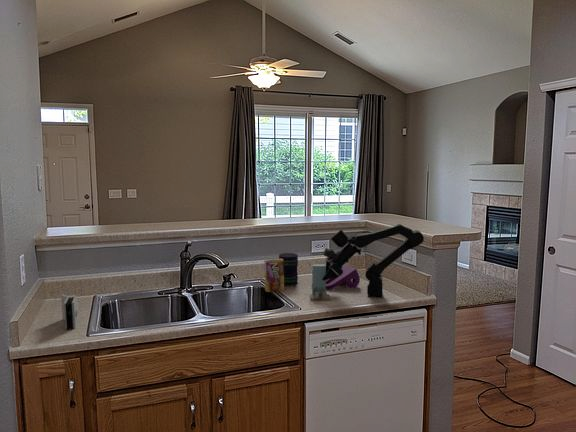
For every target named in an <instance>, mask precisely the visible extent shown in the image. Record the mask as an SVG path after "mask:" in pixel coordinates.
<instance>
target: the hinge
mask: <svg viewBox="0 0 576 432" xmlns="http://www.w3.org/2000/svg"><path fill="white" fill-rule="evenodd" d="M60 297H61V299H60V300H61V313H62V317H61V318H62V321H64V326H65V330H66V331H69V330H74V329H76V328H77V325H78V323H79V303H78V297H77V295H75V294H71V295H67V294H61V295H60Z"/></svg>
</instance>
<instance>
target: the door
mask: <svg viewBox="0 0 576 432" xmlns="http://www.w3.org/2000/svg"><path fill="white" fill-rule="evenodd" d="M311 267H312V268H311V277H312V281H311V290H312V291H311V292H312V293H311V294H314V288H318V292H319V294H321V288H325V291H327V289H326V280H325V281H323V280H322V278H323V277H324V276H325V274H326V263H325V264H319V263H318V264H312V266H311Z"/></svg>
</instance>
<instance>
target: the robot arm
mask: <svg viewBox="0 0 576 432" xmlns="http://www.w3.org/2000/svg"><path fill="white" fill-rule="evenodd" d="M396 235H401V236H403V237H404V238H405V239H404V241H403V242H402V243H401V244H400V245H398V246H397V247H396V248H394V249H393V250H392V251H390V252H389V253H388V254H387V255H386V256H384V258H382V259H381V260H380V261H377V262H376V261H375V260H373V261H372V262H371V263H370V264H368V265H367V267H366V268H365V278H366V280H368V284H367V289H366V290H367V293H366V294H367V297H370V298H381V299H382V298H383V294H384V290H383V289H384V286H383V285H384V282H383V275H382V273H383V272H384V270H385V269H386V268H388V267H389V266H390V265H392V263H394V262H395V261H397V260H398V259H399V258H400V257H402V256H403V255H405V253H407V252H408V251H410V250H412V249H413V248H416V247H419V246H420V245H422V244H423V242H424V238H425V237H424V235H423V233H422V232H421V231H419V230H416V229H414V230H413V229H411V228H409V227H407V226H404V225H402V224H401V223H398V224H396V225H393V226H390V227H389V226H388V227H386V228H383V229H380V230H376V231H372V232H364V233H358V234H356V235H353V236H348V235H347V234H346V233H345V232H344V230H343V229H340V230H339V231H337V232H336V233H335V234H333V236H332V237H331V238H330V240H331V241H332V242H333V244H335V245H336V247H337V248H342V249H341V250H338V251H337V252H336V251H335V250H332V249H330V248H328V247H325V248H324V251H323V253H322V254H323V256H324V257H326V259H325V265H326V274H325V276H324V277H323V278H322V280H323V281H325V280H328V279H330V278H333V277H337V276H341V275H342V274H343V270H342V268H343V266H345V265H346V263H349V260H350V259H352V258H353V257H354V255H356V254H358V255H359V256H361V254H362V253H361V252H362V248H364V247H366V246H368V245H371V244H372V243H374V242H376V241H379V240H382V239H383V240H384V239H386V238H390V237H393V236H396Z"/></svg>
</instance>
